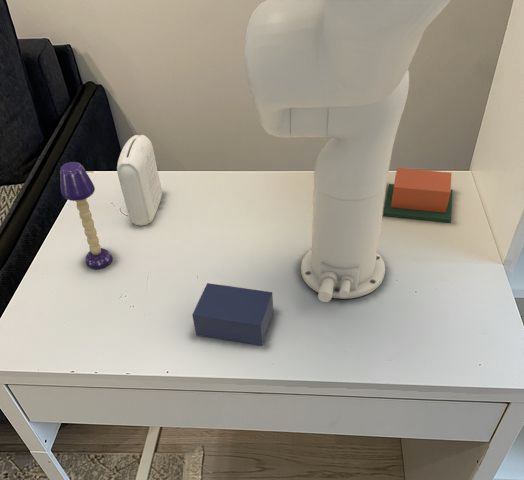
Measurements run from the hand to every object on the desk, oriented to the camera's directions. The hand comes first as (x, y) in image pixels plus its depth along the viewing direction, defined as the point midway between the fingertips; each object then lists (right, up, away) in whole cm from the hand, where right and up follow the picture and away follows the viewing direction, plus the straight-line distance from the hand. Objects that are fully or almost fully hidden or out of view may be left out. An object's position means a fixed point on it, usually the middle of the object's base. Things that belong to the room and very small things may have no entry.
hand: (352, 6), depth 79 cm
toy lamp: (-39, -35, +9) cm, 53 cm away
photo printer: (-33, -25, +18) cm, 45 cm away
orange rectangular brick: (+14, -24, +15) cm, 31 cm away
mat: (+14, -24, +15) cm, 32 cm away
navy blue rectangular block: (-17, -46, -2) cm, 49 cm away
